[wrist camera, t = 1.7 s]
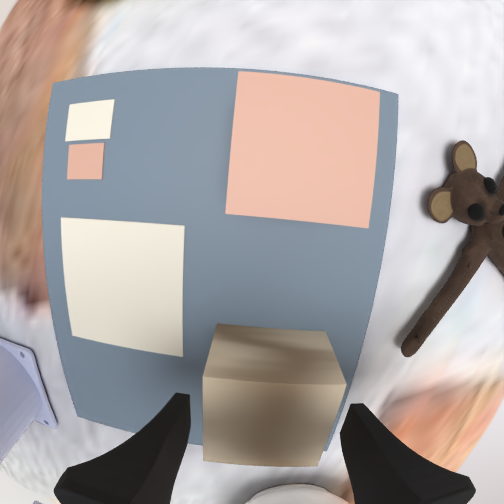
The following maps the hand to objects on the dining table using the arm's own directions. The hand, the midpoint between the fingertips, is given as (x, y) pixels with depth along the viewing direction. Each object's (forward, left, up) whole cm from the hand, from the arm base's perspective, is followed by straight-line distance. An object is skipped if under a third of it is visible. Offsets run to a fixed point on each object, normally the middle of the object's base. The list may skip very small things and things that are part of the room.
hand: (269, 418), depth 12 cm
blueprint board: (-4, +4, -4) cm, 7 cm away
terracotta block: (0, +11, -4) cm, 12 cm away
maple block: (0, 0, -4) cm, 4 cm away
